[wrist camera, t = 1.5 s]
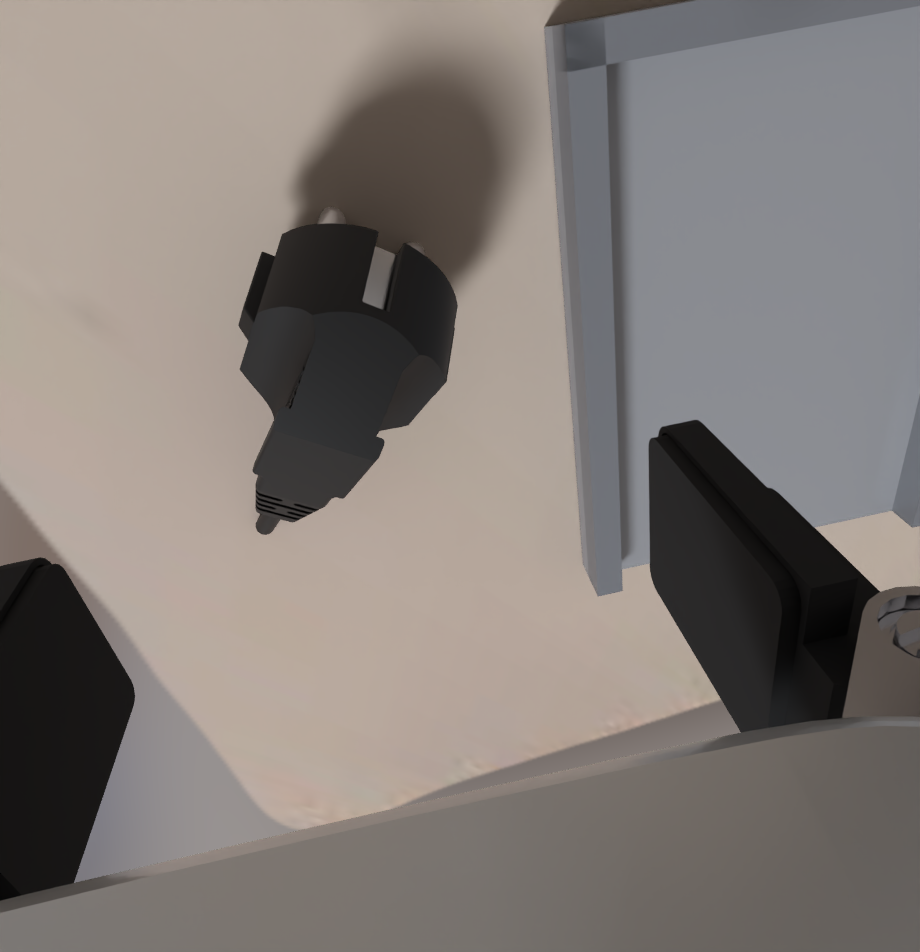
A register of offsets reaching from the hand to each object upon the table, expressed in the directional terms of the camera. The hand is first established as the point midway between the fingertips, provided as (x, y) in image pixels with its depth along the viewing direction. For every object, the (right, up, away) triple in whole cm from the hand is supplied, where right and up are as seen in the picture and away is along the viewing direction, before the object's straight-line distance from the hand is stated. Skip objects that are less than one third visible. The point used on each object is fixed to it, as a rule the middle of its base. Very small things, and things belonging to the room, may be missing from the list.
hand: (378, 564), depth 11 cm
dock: (+12, +7, +13) cm, 19 cm away
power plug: (-4, +5, +12) cm, 13 cm away
